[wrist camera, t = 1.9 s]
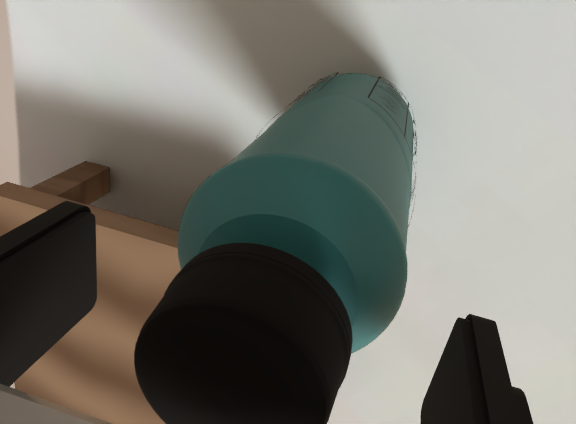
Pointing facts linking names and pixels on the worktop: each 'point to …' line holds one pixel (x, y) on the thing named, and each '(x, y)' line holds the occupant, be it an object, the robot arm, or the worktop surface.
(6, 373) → the robot arm
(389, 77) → the worktop surface
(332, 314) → the beverage bottle
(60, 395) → the footstool
